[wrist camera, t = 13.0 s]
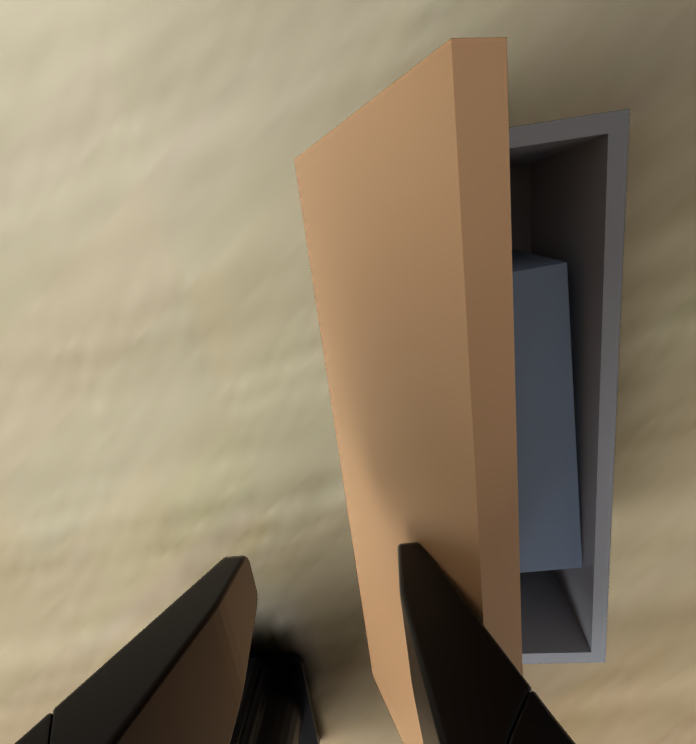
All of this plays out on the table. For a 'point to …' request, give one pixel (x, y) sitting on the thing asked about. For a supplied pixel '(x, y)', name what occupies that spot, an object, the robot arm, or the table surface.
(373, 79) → the table surface
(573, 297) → the grey hollow box
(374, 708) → the table surface
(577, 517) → the blue rectangular block
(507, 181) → the tan box lid
